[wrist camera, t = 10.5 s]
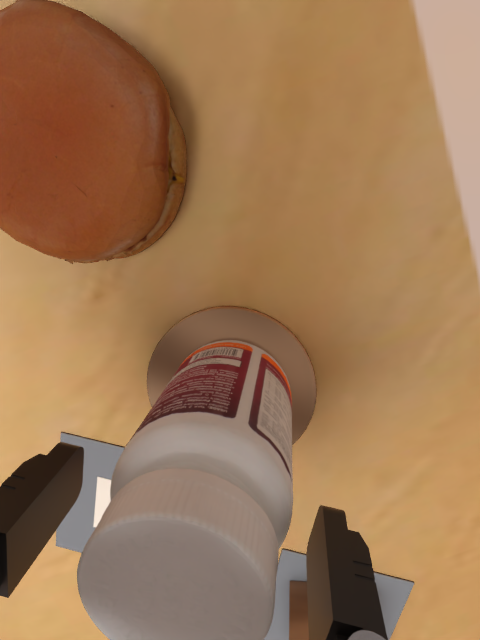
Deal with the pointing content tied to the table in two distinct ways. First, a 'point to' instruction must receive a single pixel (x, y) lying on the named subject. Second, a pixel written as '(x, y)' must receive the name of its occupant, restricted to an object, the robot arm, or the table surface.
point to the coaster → (246, 329)
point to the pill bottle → (197, 506)
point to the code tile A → (88, 492)
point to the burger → (83, 137)
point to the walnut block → (298, 611)
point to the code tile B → (294, 569)
